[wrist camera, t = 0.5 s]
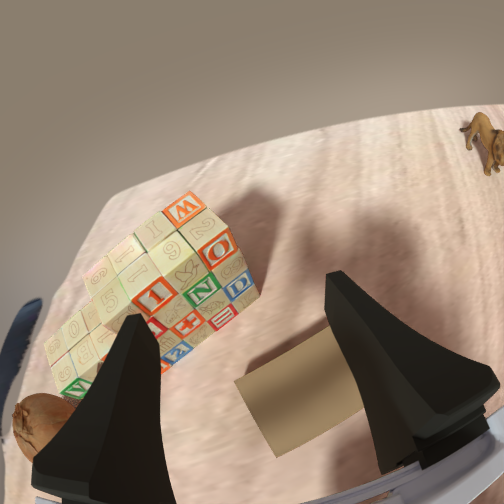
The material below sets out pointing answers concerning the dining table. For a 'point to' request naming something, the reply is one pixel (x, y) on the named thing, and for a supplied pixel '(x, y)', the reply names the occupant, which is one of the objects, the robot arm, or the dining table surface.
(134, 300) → the stack of blocks
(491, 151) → the lion figurine
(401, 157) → the dining table surface
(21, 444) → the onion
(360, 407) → the tan block
